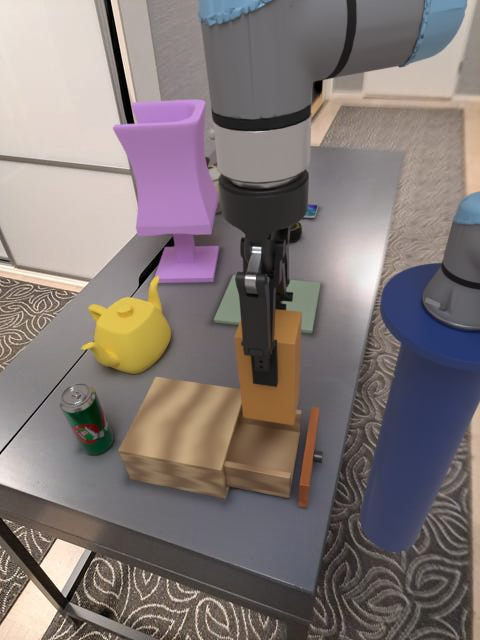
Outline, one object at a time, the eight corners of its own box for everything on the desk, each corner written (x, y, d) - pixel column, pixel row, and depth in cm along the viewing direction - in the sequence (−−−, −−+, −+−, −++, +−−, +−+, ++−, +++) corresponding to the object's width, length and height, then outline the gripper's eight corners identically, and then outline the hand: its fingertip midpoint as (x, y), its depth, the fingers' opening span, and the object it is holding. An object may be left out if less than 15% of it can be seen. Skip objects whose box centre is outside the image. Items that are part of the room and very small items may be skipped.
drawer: (325, 432, 68) (327, 409, 64) (316, 510, 59) (318, 488, 55) (232, 417, 71) (230, 394, 67) (210, 488, 62) (206, 466, 58)
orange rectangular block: (299, 393, 58) (301, 311, 49) (293, 425, 54) (294, 344, 45) (252, 386, 59) (245, 305, 50) (243, 417, 56) (234, 336, 46)
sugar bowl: (220, 227, 120) (214, 173, 110) (172, 219, 125) (163, 167, 115) (248, 196, 133) (245, 146, 123) (204, 190, 138) (198, 141, 128)
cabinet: (248, 420, 72) (245, 389, 67) (226, 499, 62) (221, 470, 57) (164, 406, 75) (155, 376, 70) (130, 479, 65) (117, 450, 60)
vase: (162, 249, 113) (132, 102, 90) (223, 247, 112) (208, 98, 89) (149, 285, 101) (111, 127, 79) (217, 284, 100) (198, 123, 77)
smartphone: (266, 201, 128) (318, 204, 124) (266, 204, 128) (318, 207, 125) (260, 212, 122) (315, 216, 119) (261, 215, 123) (315, 219, 119)
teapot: (132, 305, 96) (120, 264, 89) (193, 323, 90) (186, 280, 83) (61, 375, 82) (40, 332, 75) (128, 401, 76) (112, 357, 69)
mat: (320, 285, 97) (320, 282, 97) (312, 333, 86) (312, 330, 85) (233, 277, 102) (233, 274, 101) (213, 322, 90) (213, 319, 90)
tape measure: (285, 228, 117) (285, 216, 115) (306, 236, 114) (307, 223, 111) (269, 239, 113) (269, 226, 111) (291, 247, 110) (291, 234, 107)
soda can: (97, 425, 73) (75, 376, 65) (121, 436, 71) (101, 387, 63) (75, 449, 69) (49, 401, 62) (100, 461, 67) (76, 413, 60)
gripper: (244, 131, 44) (255, 310, 59) (183, 221, 31) (218, 422, 46) (320, 132, 42) (312, 316, 57) (291, 227, 29) (290, 434, 44)
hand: (270, 363), depth 52 cm, fingers closed on orange rectangular block, 5 cm apart
